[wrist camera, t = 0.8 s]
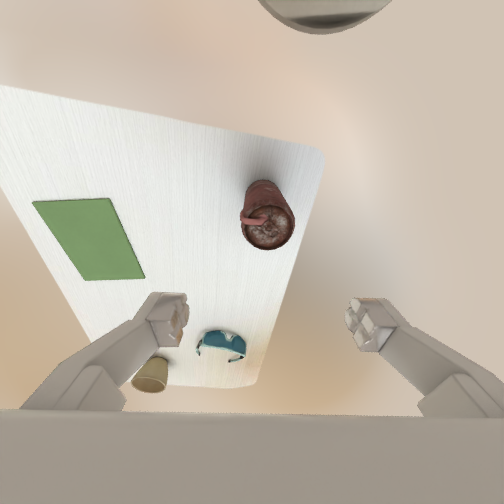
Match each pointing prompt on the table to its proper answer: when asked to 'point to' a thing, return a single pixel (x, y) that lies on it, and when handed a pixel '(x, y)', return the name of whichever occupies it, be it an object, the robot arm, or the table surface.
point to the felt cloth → (92, 238)
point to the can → (266, 216)
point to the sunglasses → (223, 343)
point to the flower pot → (151, 376)
